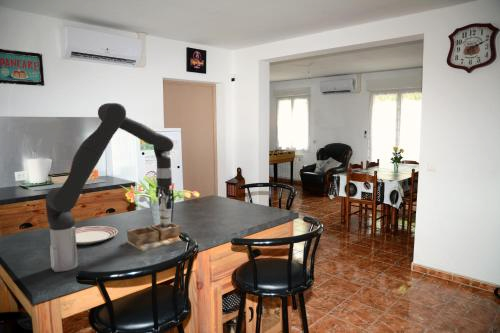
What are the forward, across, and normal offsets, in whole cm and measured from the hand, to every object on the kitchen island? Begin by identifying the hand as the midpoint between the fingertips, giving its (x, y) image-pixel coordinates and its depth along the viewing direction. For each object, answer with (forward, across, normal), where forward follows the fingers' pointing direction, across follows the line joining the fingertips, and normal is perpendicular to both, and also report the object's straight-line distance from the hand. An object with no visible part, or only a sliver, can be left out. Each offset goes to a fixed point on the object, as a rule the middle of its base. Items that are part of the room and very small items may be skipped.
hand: (164, 207), depth 184 cm
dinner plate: (+17, -25, -30) cm, 43 cm away
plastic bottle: (+15, 0, 0) cm, 15 cm away
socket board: (+16, +2, -6) cm, 17 cm away
